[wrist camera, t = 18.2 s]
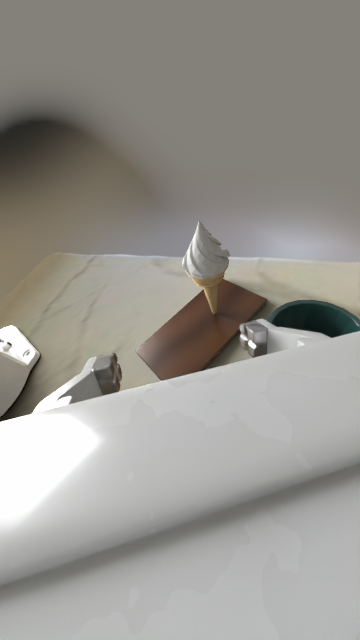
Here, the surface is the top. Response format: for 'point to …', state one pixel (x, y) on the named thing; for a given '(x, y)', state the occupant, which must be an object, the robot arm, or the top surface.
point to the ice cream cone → (206, 263)
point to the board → (199, 332)
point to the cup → (315, 318)
